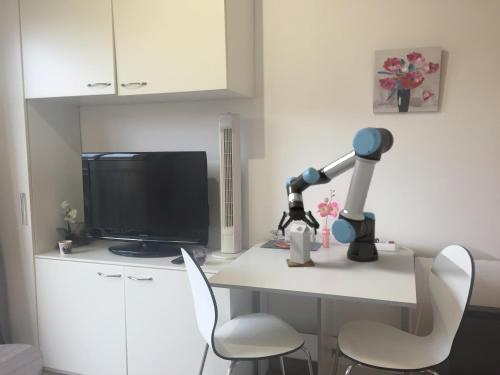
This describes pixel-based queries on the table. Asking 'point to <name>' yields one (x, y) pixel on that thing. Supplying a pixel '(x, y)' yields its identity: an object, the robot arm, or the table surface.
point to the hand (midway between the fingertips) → (300, 241)
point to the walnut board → (307, 264)
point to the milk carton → (299, 243)
